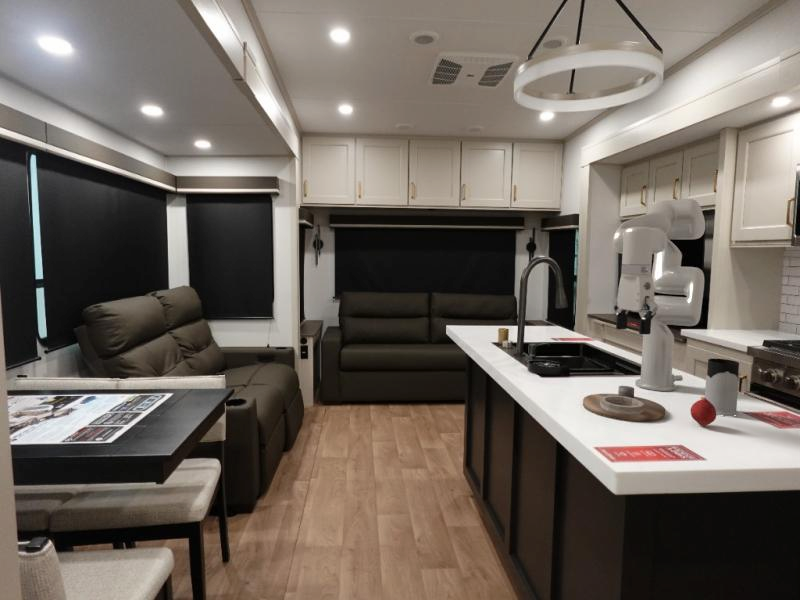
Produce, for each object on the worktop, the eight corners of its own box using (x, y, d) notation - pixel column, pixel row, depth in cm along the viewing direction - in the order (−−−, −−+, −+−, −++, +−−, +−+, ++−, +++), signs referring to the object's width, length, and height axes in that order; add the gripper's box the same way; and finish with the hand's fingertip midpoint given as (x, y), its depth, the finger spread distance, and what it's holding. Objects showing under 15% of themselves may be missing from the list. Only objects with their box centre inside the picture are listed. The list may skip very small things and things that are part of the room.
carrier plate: (627, 396, 156) (628, 382, 155) (683, 418, 135) (685, 402, 134) (567, 400, 150) (568, 386, 150) (616, 424, 129) (617, 408, 129)
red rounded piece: (708, 422, 131) (710, 394, 131) (720, 430, 126) (722, 400, 125) (685, 421, 132) (687, 393, 131) (696, 429, 126) (698, 399, 126)
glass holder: (706, 414, 138) (710, 363, 137) (693, 400, 152) (696, 353, 151) (742, 418, 136) (746, 365, 134) (726, 403, 149) (729, 355, 148)
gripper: (670, 272, 129) (666, 336, 130) (627, 270, 146) (624, 327, 147) (646, 272, 127) (642, 336, 129) (605, 270, 144) (602, 327, 145)
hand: (632, 331), depth 138 cm, fingers open, 9 cm apart
